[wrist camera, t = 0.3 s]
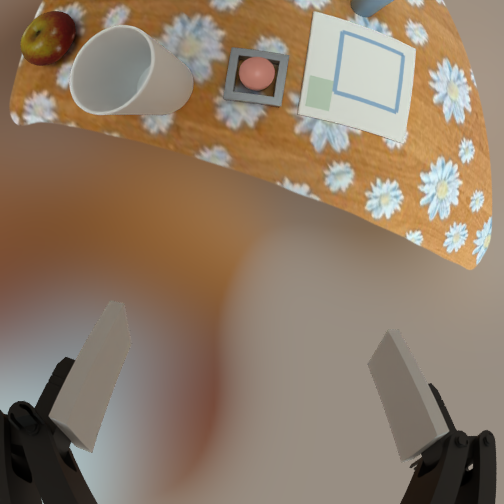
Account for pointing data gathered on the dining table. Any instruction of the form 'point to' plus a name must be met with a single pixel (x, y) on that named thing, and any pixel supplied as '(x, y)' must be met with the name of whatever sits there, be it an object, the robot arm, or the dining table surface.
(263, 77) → the button
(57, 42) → the fruit
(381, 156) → the dining table surface
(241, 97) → the button housing
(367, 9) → the marker
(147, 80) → the cup
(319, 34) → the board
